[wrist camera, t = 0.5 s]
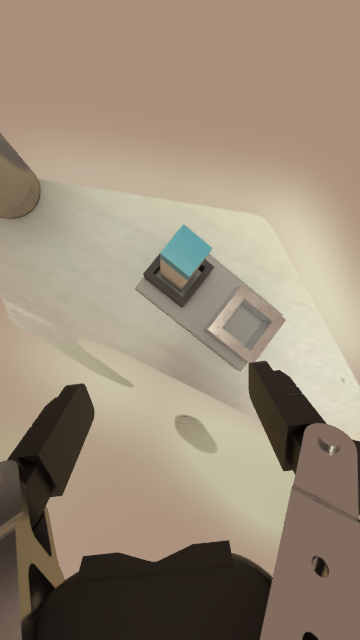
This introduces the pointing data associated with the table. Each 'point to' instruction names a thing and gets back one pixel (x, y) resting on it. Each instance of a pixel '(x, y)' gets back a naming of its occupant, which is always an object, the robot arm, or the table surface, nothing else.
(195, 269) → the plug
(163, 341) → the table surface
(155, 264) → the dark grey square socket
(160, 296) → the panel
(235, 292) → the port
